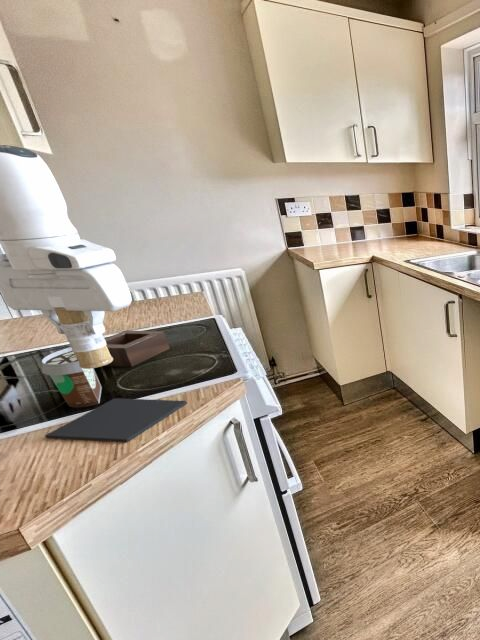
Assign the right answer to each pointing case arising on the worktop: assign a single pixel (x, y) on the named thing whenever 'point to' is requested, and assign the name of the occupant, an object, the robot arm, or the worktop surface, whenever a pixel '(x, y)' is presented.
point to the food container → (72, 378)
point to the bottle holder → (135, 347)
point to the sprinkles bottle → (81, 336)
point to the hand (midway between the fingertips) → (83, 333)
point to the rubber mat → (117, 420)
